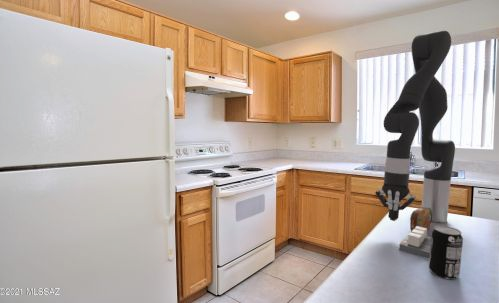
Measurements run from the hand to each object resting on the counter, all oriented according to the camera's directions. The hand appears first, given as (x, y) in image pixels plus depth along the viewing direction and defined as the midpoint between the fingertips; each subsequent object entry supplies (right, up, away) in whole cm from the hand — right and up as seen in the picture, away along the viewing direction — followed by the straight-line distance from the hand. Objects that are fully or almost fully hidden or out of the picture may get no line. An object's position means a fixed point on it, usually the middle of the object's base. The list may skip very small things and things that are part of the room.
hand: (393, 219), depth 96 cm
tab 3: (+1, -5, -11) cm, 12 cm away
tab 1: (+6, -4, -5) cm, 9 cm away
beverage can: (+1, -9, -23) cm, 25 cm away
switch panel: (+5, -7, -9) cm, 13 cm away
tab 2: (+4, -5, -8) cm, 10 cm away
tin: (+13, -6, +6) cm, 16 cm away
